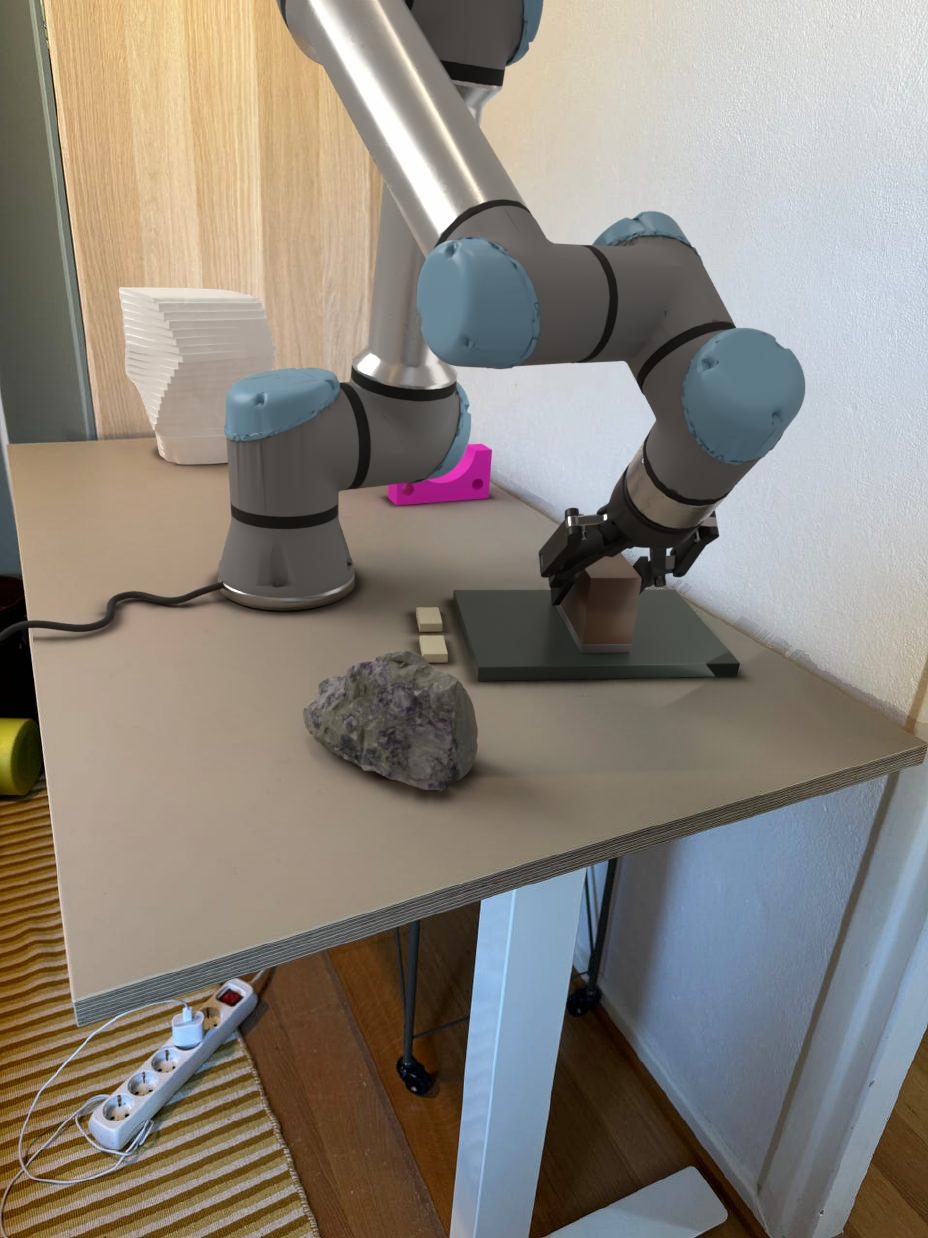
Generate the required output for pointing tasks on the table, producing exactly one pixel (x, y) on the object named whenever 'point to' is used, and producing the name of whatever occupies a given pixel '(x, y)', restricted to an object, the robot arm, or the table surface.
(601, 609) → the block
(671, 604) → the slate board
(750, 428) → the robot arm
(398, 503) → the toy block
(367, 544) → the table surface
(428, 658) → the cream flat block
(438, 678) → the mineral rock
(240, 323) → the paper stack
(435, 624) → the cream rectangular block
